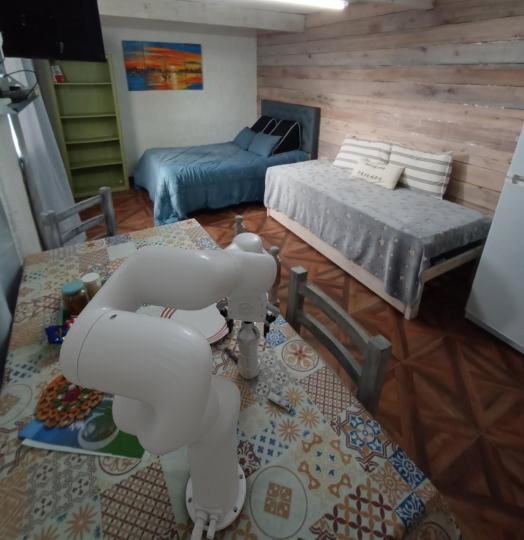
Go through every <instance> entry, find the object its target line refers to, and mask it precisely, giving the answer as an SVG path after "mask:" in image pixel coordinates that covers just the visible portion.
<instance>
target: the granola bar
mask: <svg viewBox="0 0 524 540" xmlns="http://www.w3.org/2000/svg"><path fill="white" fill-rule="evenodd" d="M267 400H270V401H272V402H273V403H275V404H276V405H277V406H280V407H282V408H283V409H285V410H287V412H290V410H291V408H292V406H293V402H292V403H291V402H290V401H288V400H287V399H285V398H283V397H282V396H280V395H278V394H276V393H275V392H273V391H271V390H270V392H269V394H268V395H267Z"/></svg>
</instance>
